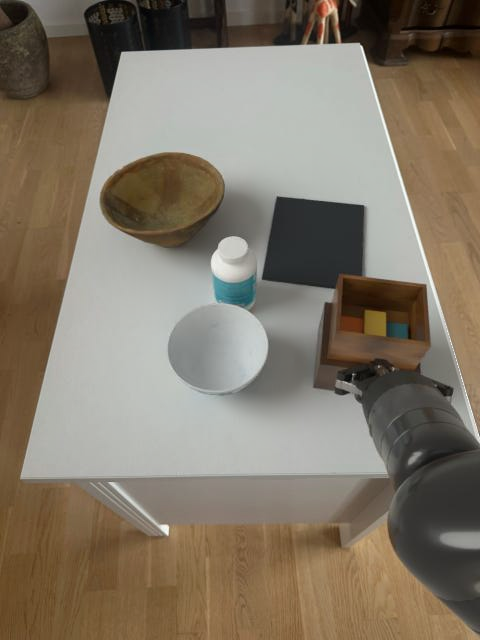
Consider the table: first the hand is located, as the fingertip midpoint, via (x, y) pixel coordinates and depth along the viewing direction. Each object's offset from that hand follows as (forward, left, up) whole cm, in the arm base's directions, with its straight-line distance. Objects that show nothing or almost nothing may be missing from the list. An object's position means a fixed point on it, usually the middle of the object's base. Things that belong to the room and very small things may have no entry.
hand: (378, 366), depth 57 cm
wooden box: (0, -8, -5) cm, 9 cm away
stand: (0, -7, -13) cm, 15 cm away
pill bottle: (+22, -17, -13) cm, 31 cm away
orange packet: (+3, -8, -4) cm, 9 cm away
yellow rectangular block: (0, -8, -3) cm, 8 cm away
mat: (+9, -33, -13) cm, 36 cm away
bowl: (+38, -32, -13) cm, 51 cm away
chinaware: (+22, -3, -13) cm, 26 cm away
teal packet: (-3, -8, -4) cm, 9 cm away
